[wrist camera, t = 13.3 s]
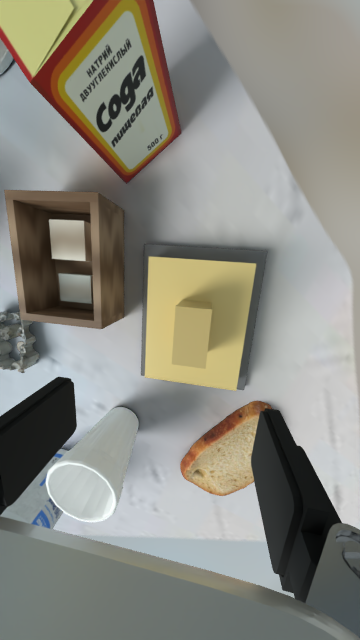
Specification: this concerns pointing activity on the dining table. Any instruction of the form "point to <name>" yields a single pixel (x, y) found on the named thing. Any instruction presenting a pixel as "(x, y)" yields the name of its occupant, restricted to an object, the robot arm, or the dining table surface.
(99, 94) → the baking soda box
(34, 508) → the supplement tub
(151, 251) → the mat
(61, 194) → the box
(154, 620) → the robot arm
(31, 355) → the egg carton
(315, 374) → the dining table surface
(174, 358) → the lid
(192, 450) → the slice of bread
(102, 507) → the cup
